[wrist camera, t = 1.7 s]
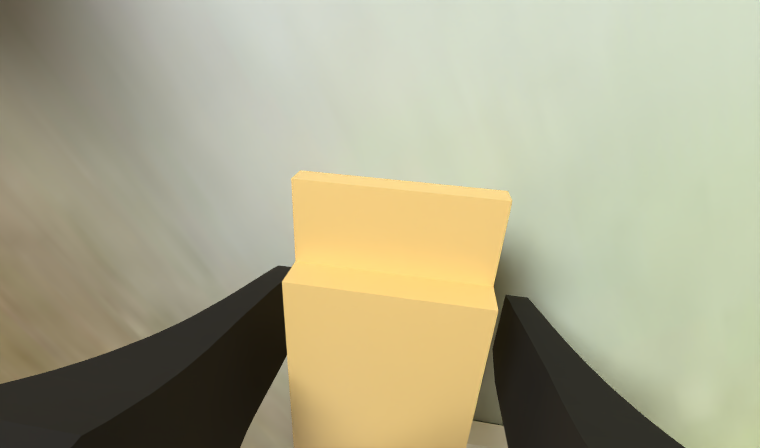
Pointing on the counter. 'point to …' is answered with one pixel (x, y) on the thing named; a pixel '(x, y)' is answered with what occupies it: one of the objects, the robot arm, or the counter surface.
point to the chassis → (486, 436)
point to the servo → (389, 309)
